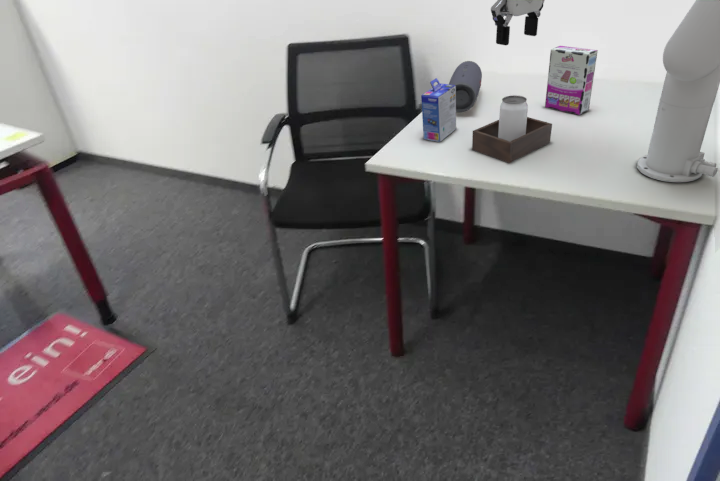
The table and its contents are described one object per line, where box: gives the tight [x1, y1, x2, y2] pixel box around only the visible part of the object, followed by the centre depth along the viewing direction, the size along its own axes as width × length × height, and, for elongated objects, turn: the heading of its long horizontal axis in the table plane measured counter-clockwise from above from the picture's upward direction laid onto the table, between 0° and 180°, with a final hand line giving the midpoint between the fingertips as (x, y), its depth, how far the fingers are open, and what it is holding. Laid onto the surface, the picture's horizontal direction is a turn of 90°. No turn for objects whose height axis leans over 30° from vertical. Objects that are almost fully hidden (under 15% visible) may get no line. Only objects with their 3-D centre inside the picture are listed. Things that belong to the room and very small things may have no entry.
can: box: [498, 94, 529, 141], centre depth 130 cm, size 6×6×12 cm
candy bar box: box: [544, 45, 599, 116], centre depth 147 cm, size 11×5×16 cm, turn 42°
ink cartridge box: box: [420, 78, 457, 143], centre depth 140 cm, size 10×6×14 cm, turn 146°
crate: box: [471, 116, 553, 164], centre depth 132 cm, size 12×16×5 cm
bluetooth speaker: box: [448, 60, 483, 113], centre depth 159 cm, size 23×9×10 cm, turn 165°
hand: (516, 39), depth 123 cm, fingers open, 9 cm apart
